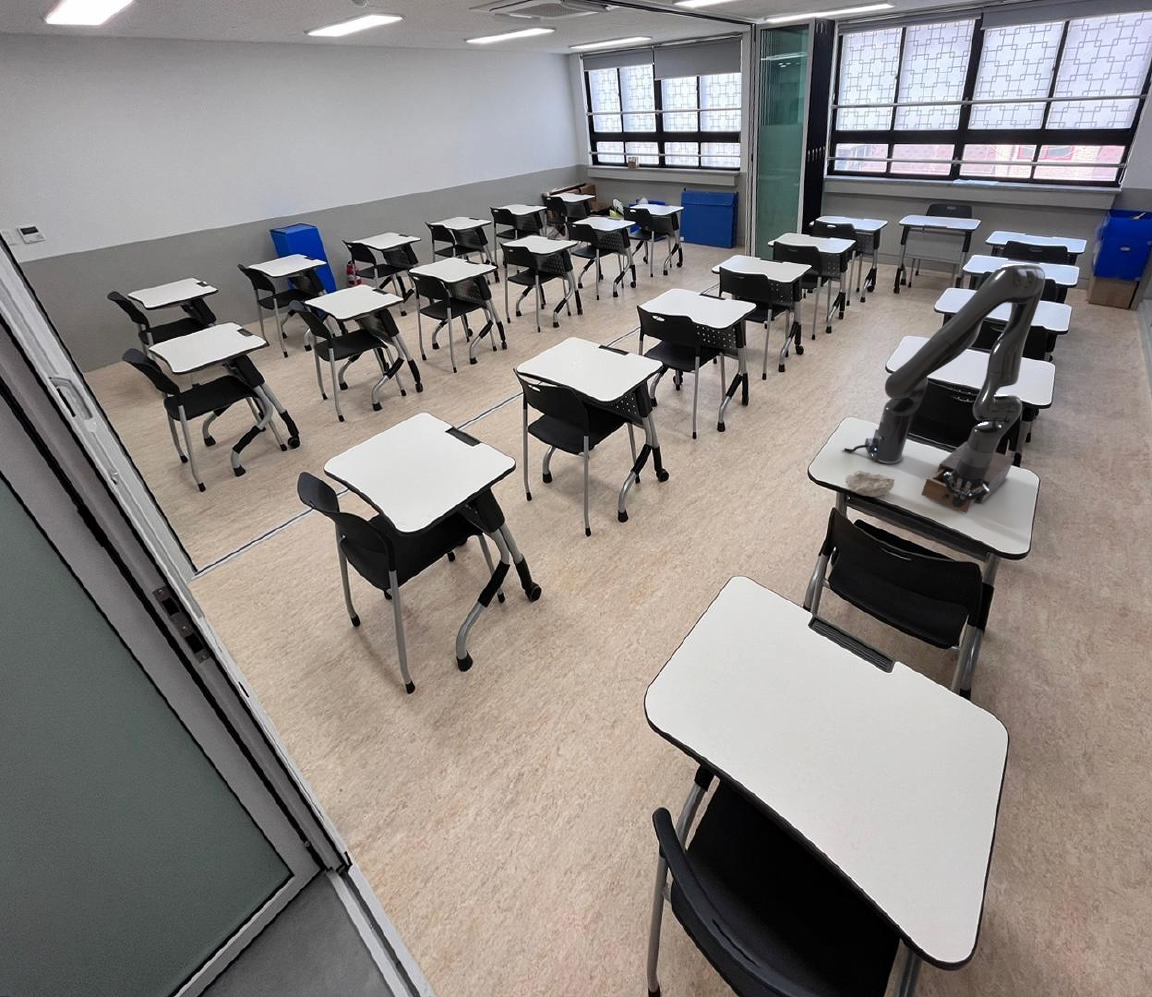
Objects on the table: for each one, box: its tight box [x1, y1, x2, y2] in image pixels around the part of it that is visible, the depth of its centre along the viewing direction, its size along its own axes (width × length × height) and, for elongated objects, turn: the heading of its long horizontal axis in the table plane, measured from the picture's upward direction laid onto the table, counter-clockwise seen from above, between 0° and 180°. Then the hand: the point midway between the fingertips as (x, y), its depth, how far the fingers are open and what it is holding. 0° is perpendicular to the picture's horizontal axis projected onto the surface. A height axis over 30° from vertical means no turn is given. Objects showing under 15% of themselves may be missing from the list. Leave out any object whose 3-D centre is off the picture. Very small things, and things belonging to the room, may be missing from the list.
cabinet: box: [935, 441, 1015, 504], centre depth 184 cm, size 18×15×8 cm
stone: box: [844, 469, 896, 498], centre depth 185 cm, size 8×12×10 cm
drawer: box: [920, 468, 986, 514], centre depth 179 cm, size 18×13×6 cm
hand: (956, 505), depth 173 cm, fingers closed
